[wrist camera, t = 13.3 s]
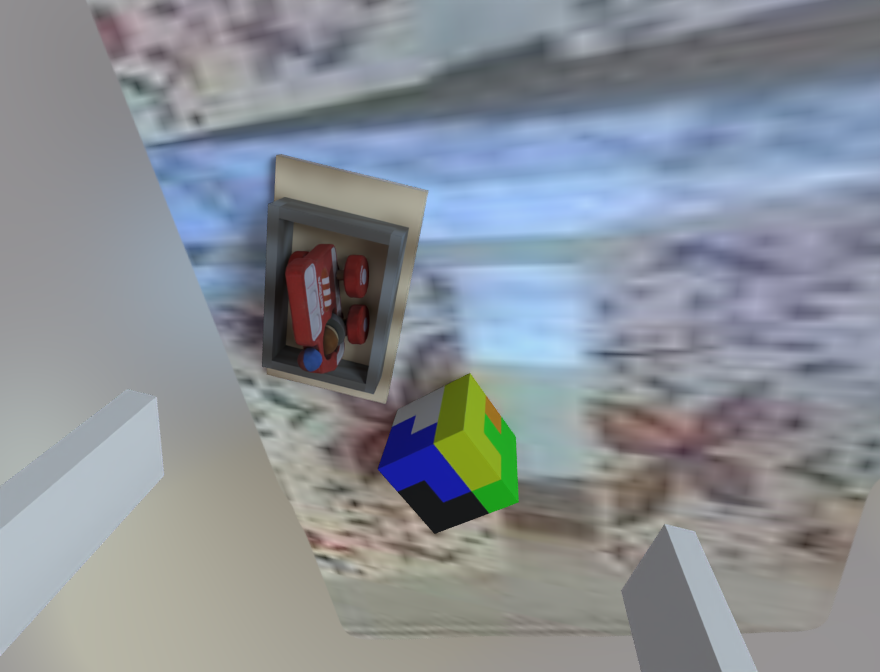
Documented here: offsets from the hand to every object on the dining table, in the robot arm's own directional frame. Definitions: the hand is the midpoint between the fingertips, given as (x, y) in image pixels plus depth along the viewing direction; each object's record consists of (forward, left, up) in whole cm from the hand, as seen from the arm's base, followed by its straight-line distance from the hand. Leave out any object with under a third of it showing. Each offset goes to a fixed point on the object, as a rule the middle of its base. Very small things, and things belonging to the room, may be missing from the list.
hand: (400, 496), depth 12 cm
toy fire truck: (+11, -12, -34) cm, 37 cm away
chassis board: (+11, -12, -35) cm, 38 cm away
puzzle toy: (+24, +4, -35) cm, 43 cm away
